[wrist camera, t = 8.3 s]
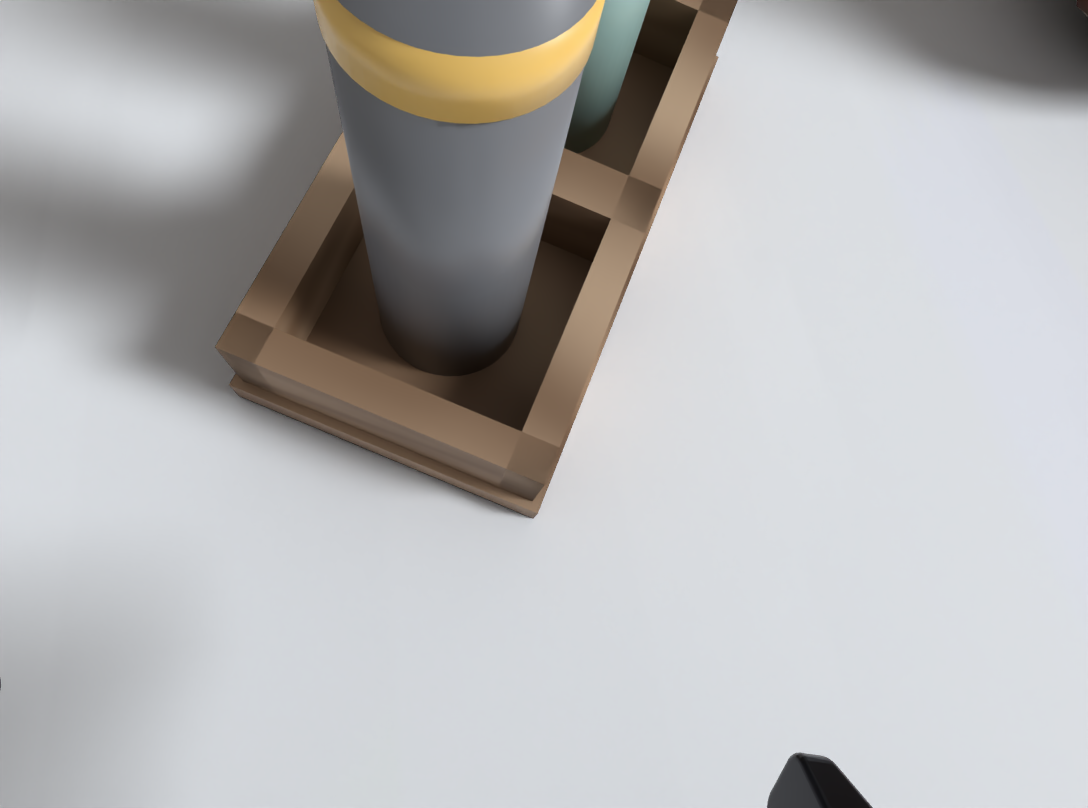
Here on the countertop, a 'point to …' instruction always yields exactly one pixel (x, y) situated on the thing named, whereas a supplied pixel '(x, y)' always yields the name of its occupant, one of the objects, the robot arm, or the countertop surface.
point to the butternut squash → (1083, 6)
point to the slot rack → (548, 313)
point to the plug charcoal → (455, 157)
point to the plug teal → (605, 72)
